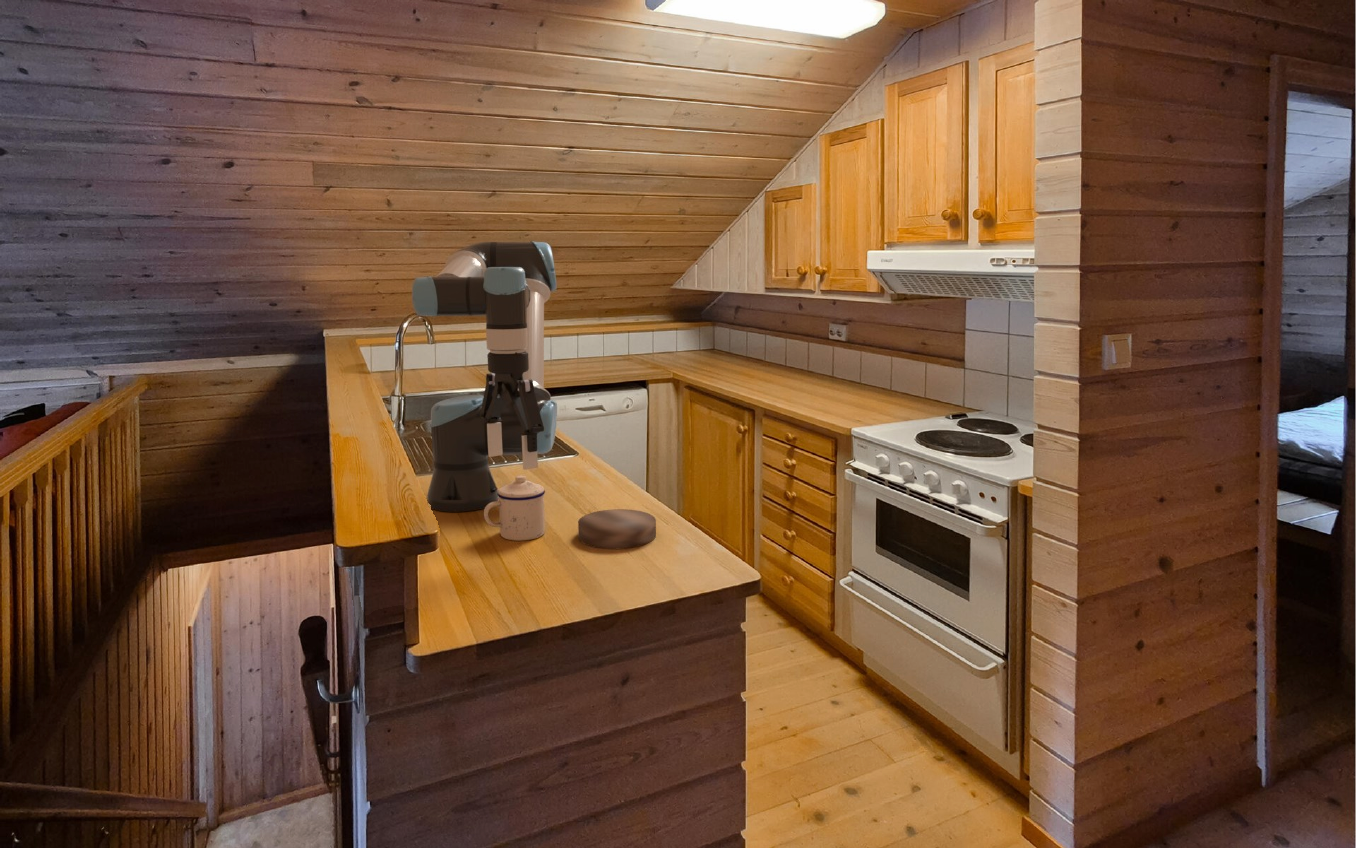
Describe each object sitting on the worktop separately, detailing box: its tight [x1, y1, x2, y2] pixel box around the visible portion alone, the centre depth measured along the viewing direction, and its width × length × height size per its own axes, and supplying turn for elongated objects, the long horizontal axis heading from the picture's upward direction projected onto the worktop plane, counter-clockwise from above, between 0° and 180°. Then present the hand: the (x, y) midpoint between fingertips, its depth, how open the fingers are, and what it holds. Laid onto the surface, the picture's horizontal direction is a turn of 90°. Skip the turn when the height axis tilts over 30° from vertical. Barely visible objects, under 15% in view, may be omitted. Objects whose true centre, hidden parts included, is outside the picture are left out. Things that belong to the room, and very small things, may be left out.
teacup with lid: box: [483, 475, 546, 542], centre depth 164 cm, size 12×9×12 cm
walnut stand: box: [577, 508, 657, 550], centre depth 165 cm, size 15×15×3 cm
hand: (512, 462), depth 162 cm, fingers open, 13 cm apart
